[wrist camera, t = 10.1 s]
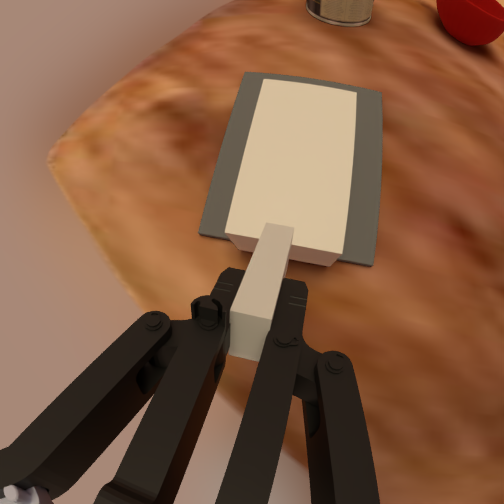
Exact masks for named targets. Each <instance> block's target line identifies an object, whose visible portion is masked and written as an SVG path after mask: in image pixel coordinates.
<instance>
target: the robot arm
mask: <svg viewBox="0 0 504 504" xmlns="http://www.w3.org/2000/svg"><path fill="white" fill-rule="evenodd" d="M293 233H294V227H289V226H284V225H278V224H273V223H267V222H266V224H265V226H264V229H263V231H262V234H261V236H260V238H259V241H258V243H257V246H256V248H255V251H254V253H253V255H252V258H251V260H250V263H249V265H248V268H247V270H246V271H245V270H240V269H235V268H230V267H229V268H227V269H226V270H225V271H223V272H222V273H221V274H220V276H219V278H218V280H217V282H216V284H215V286H214V288H213V290H212V292H211V294H210V296H209V295H206V296H200V297H198V298H196V299H194V301H193V302H192V303H191V312H192V319H188V320H170V319H169V316H167V315H166V314H165V313H163V312H160V311H151V312H147V313H145V314H144V315H142V316H141V317H140V318H139V319H138V320H137V321H135V322H134V323H133V324H132V325H131V326H130V327H129V328H128V329H127V330H126V331H125V332H124V333H123V334H122V335H121V336H120V337H119V338H118V339H116V341H114V342H113V343H112V344H111V345H110V346H109V347H108V348H107V349H106V350H105V351H104V352H103V353H102V354H101V355H100V356H99V357H98V358H97V359H96V360H94V361H93V362H92V363H91V364H90V365H89V366H88V367H87V368H86V369H85V370H84V371H83V372H82V373H81V374H80V375H79V376H78V377H77V378H76V379H75V380H74V381H73V382H72V383H71V384H70V385H69V386H68V387H67V388H66V389H65V390H64V391H63V392H62V393H61V394H60V395H59V396H58V397H57V398H56V399H55V400H54V401H53V402H52V403H51V404H50V405H49V406H48V407H47V408H46V409H45V410H44V411H43V412H42V413H41V414H40V415H39V416H38V417H37V418H36V419H35V420H34V421H33V422H32V423H31V424H30V425H29V426H28V427H27V428H26V429H25V430H24V431H23V432H22V433H21V435H20V436H19V437H18V438H17V439H16V440H15V441H14V442H13V443H12V444H11V445H10V446H9V447H7V448H4V449H2V450H0V504H54V503H53V502H52V500H53V499H55V498H57V497H59V496H60V495H62V494H63V493H65V492H66V491H68V490H69V489H70V488H71V487H72V486H73V485H74V484H75V483H76V482H77V481H78V480H79V478H80V477H81V476H82V475H83V474H84V473H85V472H86V471H87V469H88V468H89V467H90V466H91V465H92V464H93V463H94V462H95V461H96V460H97V458H98V457H99V456H100V455H101V454H102V453H103V452H104V451H105V449H106V448H107V447H108V446H109V445H110V444H111V442H112V441H113V440H114V439H115V438H116V437H117V436H118V435H119V433H120V432H121V431H122V430H123V429H124V428H125V427H126V426H127V424H128V423H129V422H130V421H131V420H132V419H133V418H134V416H135V415H136V414H137V413H138V412H139V410H141V408H142V407H143V406H144V405H145V404H146V403H147V401H148V400H149V399H150V398H151V397H152V396H153V394H154V396H153V398H152V400H151V402H150V404H149V406H148V408H147V410H146V412H145V414H144V416H143V418H142V420H141V422H140V424H139V426H138V428H137V431H136V433H135V435H134V437H133V439H132V441H131V443H130V445H129V447H128V449H127V451H126V453H125V456H124V458H123V460H122V462H121V464H120V466H119V468H118V470H117V472H116V475H115V477H114V478H113V480H112V481H111V482H109V483H107V484H105V485H104V486H103V487H102V488H101V490H100V491H99V493H98V495H97V497H96V499H95V502H94V504H173V503H174V500H175V497H176V495H177V493H178V490H179V487H180V485H181V482H182V480H183V477H184V474H185V472H186V469H187V466H188V464H189V461H190V458H191V456H192V453H193V450H194V448H195V445H196V443H197V440H198V437H199V435H200V432H201V429H202V427H203V424H204V421H205V418H206V416H207V413H208V410H209V408H210V405H211V402H212V400H213V397H214V394H215V392H216V389H217V386H218V383H219V381H220V378H221V375H222V372H223V370H224V367H225V361H226V355H227V352H228V350H229V355H232V356H236V357H240V358H245V359H249V360H253V361H258V362H259V364H258V367H257V371H256V374H255V378H254V381H253V385H252V388H251V391H250V395H249V398H248V402H247V405H246V408H245V412H244V415H243V418H242V421H241V425H240V428H239V431H238V435H237V438H236V441H235V444H234V447H233V451H232V454H231V457H230V460H229V463H228V466H227V469H226V472H225V476H224V478H223V482H222V484H221V487H220V490H219V493H218V497H217V499H216V502H215V504H268V500H269V496H270V493H271V488H272V485H273V480H274V477H275V473H276V468H277V464H278V460H279V456H280V452H281V447H282V443H283V438H284V434H285V429H286V424H287V420H288V415H289V410H290V405H291V400H292V395H294V396H296V397H298V398H300V399H302V405H303V415H304V424H305V434H306V445H307V455H308V467H309V478H310V490H311V503H312V504H380V500H379V493H378V487H377V480H376V474H375V468H374V463H373V457H372V452H371V447H370V441H369V436H368V431H367V426H366V422H365V417H364V412H363V408H362V403H361V399H360V394H359V390H358V386H357V381H356V377H355V373H354V369H353V365H352V363H351V361H350V359H349V358H348V357H347V356H346V355H345V354H343V353H341V352H338V351H328V352H325V353H323V354H322V353H319V352H317V351H315V350H314V349H312V348H310V347H309V346H308V345H307V344H306V343H305V341H304V339H303V336H302V330H303V323H304V317H305V310H306V303H307V296H308V289H307V286H306V284H305V282H302V281H297V280H292V279H287V278H285V276H286V272H287V267H288V261H289V256H290V250H291V244H292V239H293Z"/></svg>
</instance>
